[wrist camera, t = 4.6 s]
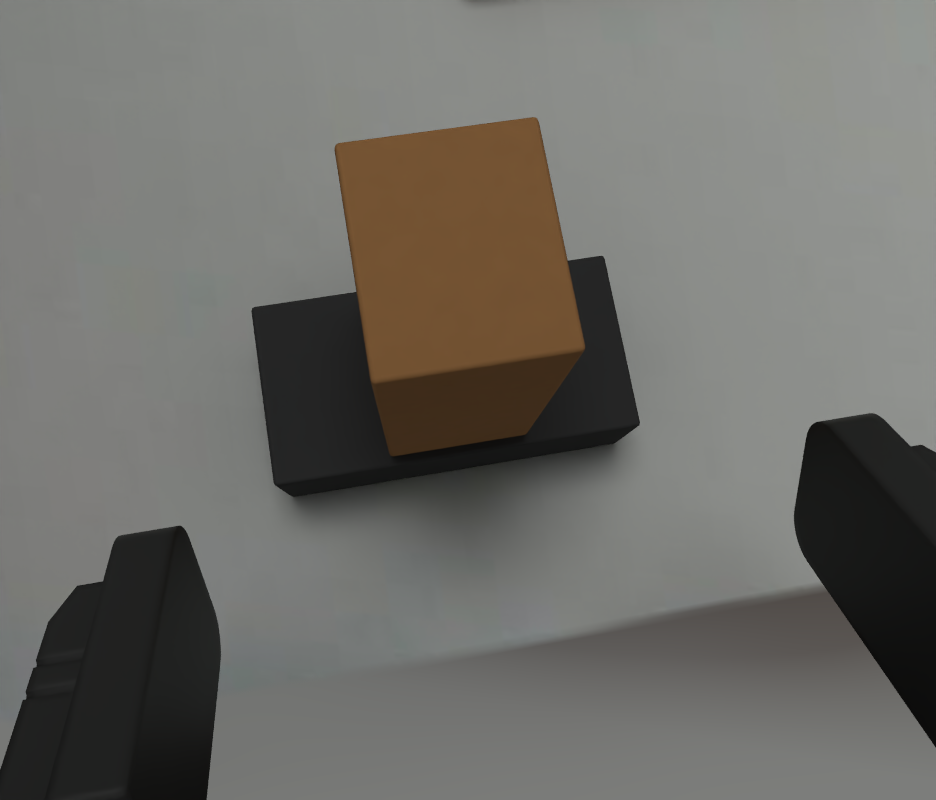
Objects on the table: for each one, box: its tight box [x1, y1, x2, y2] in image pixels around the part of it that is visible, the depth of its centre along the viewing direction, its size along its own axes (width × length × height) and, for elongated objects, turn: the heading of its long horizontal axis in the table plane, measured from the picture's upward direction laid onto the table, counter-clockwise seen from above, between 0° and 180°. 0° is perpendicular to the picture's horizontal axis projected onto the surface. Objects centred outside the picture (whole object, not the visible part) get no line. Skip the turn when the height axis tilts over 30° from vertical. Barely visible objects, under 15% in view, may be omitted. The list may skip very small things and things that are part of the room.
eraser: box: [252, 117, 640, 497], centre depth 17 cm, size 8×4×10 cm, turn 100°
